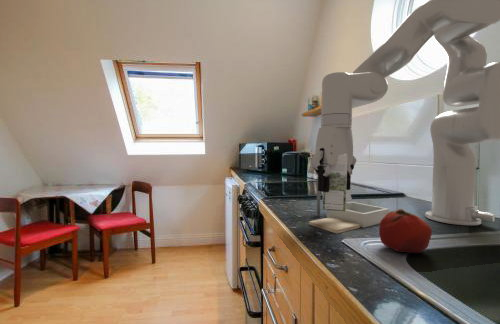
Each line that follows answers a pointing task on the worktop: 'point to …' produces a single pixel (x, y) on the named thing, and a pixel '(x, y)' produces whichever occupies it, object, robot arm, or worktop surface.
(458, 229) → the worktop surface
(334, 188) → the syrup box
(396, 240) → the tomato
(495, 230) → the worktop surface
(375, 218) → the case
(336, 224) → the plate
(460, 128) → the robot arm
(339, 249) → the worktop surface
